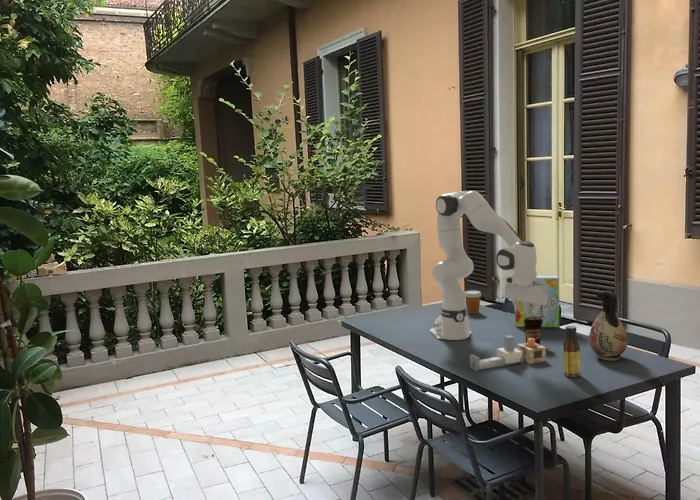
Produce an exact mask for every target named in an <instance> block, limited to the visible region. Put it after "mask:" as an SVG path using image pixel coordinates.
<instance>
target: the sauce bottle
mask: <svg viewBox="0 0 700 500" xmlns="http://www.w3.org/2000/svg"><path fill="white" fill-rule="evenodd" d="M562 346H563V350H562V351H563V352H562V353H563V372H564V375H565V376H566V377H568V378H579V377H580V376H581V368H582V367H581V348H580V343H579V341H578V339H577V327H576V326H575V325H566V326H565V339H564V341H563V345H562Z"/></svg>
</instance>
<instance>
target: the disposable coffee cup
mask: <svg viewBox="0 0 700 500" xmlns="http://www.w3.org/2000/svg"><path fill="white" fill-rule="evenodd" d="M464 292H465V307H466V311H467V312H466V314H469V315H478V314H479V313H480V304H481V296H482V293H481V291H480V290H475V289H471V290H466V291H464Z"/></svg>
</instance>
